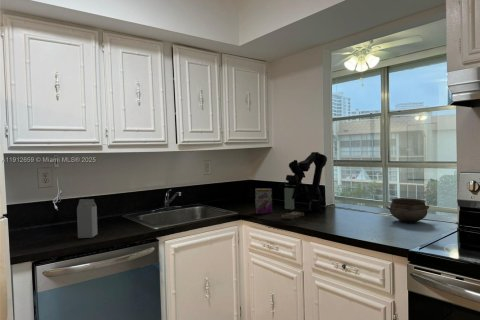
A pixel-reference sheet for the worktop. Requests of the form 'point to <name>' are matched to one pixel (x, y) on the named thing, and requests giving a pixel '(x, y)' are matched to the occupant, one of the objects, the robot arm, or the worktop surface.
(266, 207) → the candy bar box
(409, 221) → the cooking pot
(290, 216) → the rack
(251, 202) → the worktop surface
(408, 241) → the worktop surface
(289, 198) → the panel
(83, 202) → the milk carton
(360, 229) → the worktop surface
